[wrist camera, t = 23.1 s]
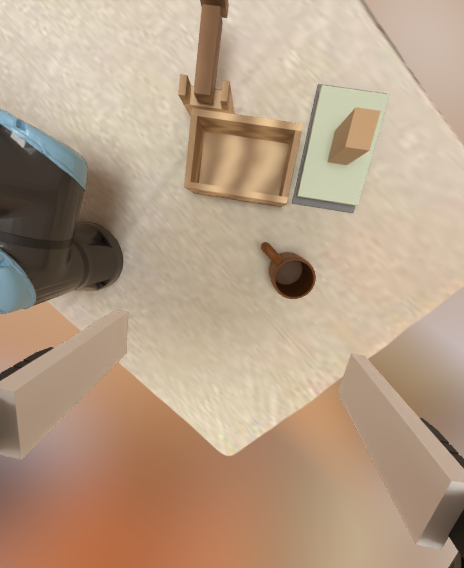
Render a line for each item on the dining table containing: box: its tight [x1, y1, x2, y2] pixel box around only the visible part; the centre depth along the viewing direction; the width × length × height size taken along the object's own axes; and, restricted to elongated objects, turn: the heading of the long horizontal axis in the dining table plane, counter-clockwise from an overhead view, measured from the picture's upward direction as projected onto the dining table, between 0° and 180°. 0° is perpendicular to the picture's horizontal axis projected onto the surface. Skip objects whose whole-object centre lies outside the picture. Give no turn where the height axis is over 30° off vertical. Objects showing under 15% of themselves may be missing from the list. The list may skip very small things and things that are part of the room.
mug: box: [261, 242, 316, 299], centre depth 44 cm, size 12×8×9 cm, turn 43°
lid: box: [297, 85, 390, 206], centre depth 37 cm, size 18×11×10 cm, turn 171°
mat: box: [292, 84, 386, 213], centre depth 42 cm, size 12×20×1 cm, turn 171°
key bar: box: [194, 0, 229, 104], centre depth 32 cm, size 3×12×3 cm, turn 171°
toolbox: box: [178, 74, 303, 207], centre depth 39 cm, size 19×14×10 cm
